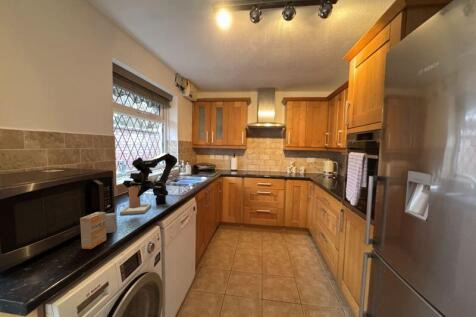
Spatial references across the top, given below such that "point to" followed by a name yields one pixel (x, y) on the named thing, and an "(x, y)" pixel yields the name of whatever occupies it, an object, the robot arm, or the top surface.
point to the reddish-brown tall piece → (134, 197)
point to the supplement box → (93, 230)
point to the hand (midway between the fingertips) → (132, 196)
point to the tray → (135, 209)
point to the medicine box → (111, 222)
